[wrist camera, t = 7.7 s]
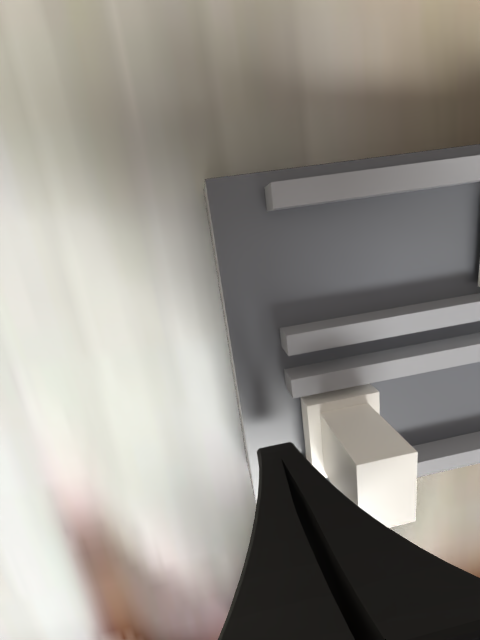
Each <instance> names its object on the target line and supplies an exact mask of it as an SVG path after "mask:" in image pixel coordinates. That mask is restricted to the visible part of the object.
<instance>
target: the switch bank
mask: <svg viewBox="0 0 480 640" xmlns="http://www.w3.org/2000/svg"><path fill="white" fill-rule="evenodd" d="M204 194H205V201H206V207H207V213H208V219H209V226H210V232H211V238H212V245H213V251H214V257H215V263H216V270H217V276H218V282H219V288H220V295H221V301H222V307H223V313H224V320H225V326H226V332H227V338H228V345H229V351H230V357H231V364H232V370H233V376H234V382H235V389H236V395H237V401H238V407H239V414H240V420H241V426H242V432H243V439H244V445H245V451H246V458H247V464H248V469H249V473H250V478H251V483H252V487H253V492H254V496H255V501H256V504H257V497H258V485H259V464H258V457H257V450H258V449H259V448H263V447H268V446H273V445H277V444H282V443H287V442H291V443H293V444H294V445H295V446H296V448H297V449H298V450H299V451H300V452H301V453H302V454H303V456H304V457H305V458H306V450H305V440H304V429H303V418H302V408H301V397H303V396H308V395H314V394H319V393H324V392H329V391H334V390H339V389H344V388H349V387H354V386H359V385H364V384H371V385H372V386H373V387H374V388H375V389H377V390H378V391H379V403H380V416H381V417H383V418H384V419H385V420H386V421H387V422H388V423H389V424H390V425H391V426H392V427H393V428H394V429H395V430H396V431H397V432H398V433H399V434H400V435H401V436H402V437H403V438H404V439H405V440H406V441H407V442H408V443H409V444H410V445H411V446H412V447H413V448H414V449H415V450H416V451H417V452H418V458H417V477H422V476H426V475H430V474H435V473H439V472H443V471H448V470H452V469H456V468H461V467H465V466H469V465H474V464H478V463H480V287H479V286H478V277H479V264H480V144H476V145H469V146H461V147H453V148H445V149H437V150H429V151H422V152H414V153H406V154H398V155H390V156H383V157H375V158H367V159H359V160H351V161H343V162H336V163H328V164H320V165H312V166H304V167H296V168H289V169H281V170H273V171H265V172H257V173H250V174H242V175H234V176H226V177H218V178H210V179H205V184H204ZM326 479H327V480H328V481H329V482H330V480H329V478H326ZM330 483H331V482H330Z"/></svg>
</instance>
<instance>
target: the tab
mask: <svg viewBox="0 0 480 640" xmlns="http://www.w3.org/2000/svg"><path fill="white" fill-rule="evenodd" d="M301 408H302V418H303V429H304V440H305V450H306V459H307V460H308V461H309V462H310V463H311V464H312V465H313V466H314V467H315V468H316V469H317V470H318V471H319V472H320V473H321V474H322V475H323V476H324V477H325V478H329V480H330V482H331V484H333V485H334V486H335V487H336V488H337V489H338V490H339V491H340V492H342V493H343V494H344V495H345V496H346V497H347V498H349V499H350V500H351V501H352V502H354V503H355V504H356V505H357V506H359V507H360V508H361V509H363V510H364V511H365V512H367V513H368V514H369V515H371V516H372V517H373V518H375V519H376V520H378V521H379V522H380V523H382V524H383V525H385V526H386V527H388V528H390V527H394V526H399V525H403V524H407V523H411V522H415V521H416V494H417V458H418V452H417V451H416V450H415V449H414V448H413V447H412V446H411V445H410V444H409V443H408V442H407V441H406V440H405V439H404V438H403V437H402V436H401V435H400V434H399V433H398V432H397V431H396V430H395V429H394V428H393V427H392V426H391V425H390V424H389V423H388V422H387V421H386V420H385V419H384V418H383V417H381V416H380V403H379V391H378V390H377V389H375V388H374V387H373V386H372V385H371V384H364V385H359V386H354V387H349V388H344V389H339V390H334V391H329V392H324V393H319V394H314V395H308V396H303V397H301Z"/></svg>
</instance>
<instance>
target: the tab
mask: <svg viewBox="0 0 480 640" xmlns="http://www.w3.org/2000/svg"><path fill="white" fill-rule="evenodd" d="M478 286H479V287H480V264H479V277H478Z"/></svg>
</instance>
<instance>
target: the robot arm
mask: <svg viewBox="0 0 480 640" xmlns="http://www.w3.org/2000/svg"><path fill="white" fill-rule="evenodd" d="M257 457H258V464H259V485H258V497H257V505H256V512H255V519H254V524H253V530H252V534H251V539H250V544H249V548H248V552H247V555H246V559H245V563H244V567H243V570H242V574H241V577H240V580H239V583H238V586H237V589H236V592H235V595H234V598H233V601H232V604H231V607H230V610H229V613H228V616H227V618H226V621H225V623H224V626H223V628H222V631H221V633H220V636H219V638H218V640H480V578H478V577H476V576H474V575H472V574H470V573H468V572H466V571H464V570H462V569H460V568H458V567H456V566H453V565H451V564H449V563H447V562H445V561H443V560H442V559H440V558H438V557H436V556H434V555H433V554H431V553H429V552H427V551H425V550H423V549H422V548H420V547H418V546H417V545H415V544H413V543H412V542H410V541H408V540H407V539H405V538H404V537H402V536H400V535H399V534H397V533H395V532H394V531H392V530H391V529H389V528H388V527H386V526H385V525H383V524H382V523H380V522H379V521H378V520H376V519H375V518H373V517H372V516H371V515H369V514H368V513H367V512H365V511H364V510H363V509H361V508H360V507H359V506H357V505H356V504H355V503H354V502H352V501H351V500H350V499H349V498H347V497H346V496H345V495H344V494H343V493H342V492H340V491H339V490H338V489H337V488H336V487H335V486H334V485H333V484H331V483H330V482H329V481H328V480H327V479H326V478H325V477H324V476H323V475H322V474H321V473H320V472H319V471H318V470H317V469H316V468H315V467H314V466H313V465H312V464H311V463H310V462H309V461H308V460H307V459H306V458H305V457H304V456H303V454H302V453H301V452H300V451H299V450H298V449H297V448H296V446H295V445H294V444H293V443H291V442H287V443H282V444H277V445H273V446H268V447H263V448H259V449H258V450H257Z"/></svg>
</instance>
